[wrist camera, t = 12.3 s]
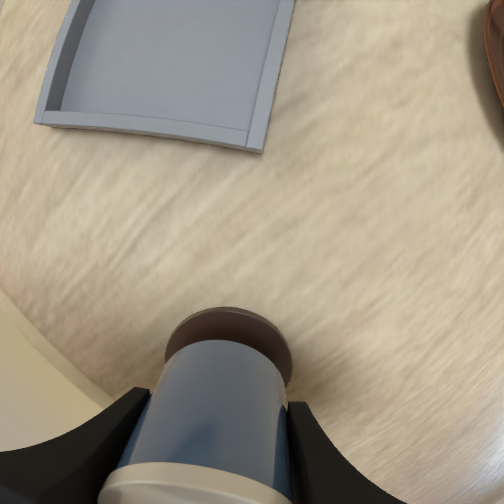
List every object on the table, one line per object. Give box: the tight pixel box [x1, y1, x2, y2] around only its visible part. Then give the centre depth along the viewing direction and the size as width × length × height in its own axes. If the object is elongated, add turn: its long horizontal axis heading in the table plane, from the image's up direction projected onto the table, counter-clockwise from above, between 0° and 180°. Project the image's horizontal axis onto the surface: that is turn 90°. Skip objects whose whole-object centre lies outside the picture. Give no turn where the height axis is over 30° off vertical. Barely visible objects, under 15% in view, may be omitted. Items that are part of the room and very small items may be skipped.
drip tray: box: [33, 0, 296, 154], centre depth 11 cm, size 10×10×2 cm
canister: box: [97, 340, 294, 504], centre depth 9 cm, size 5×5×7 cm
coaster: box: [165, 307, 292, 389], centre depth 15 cm, size 6×6×1 cm
